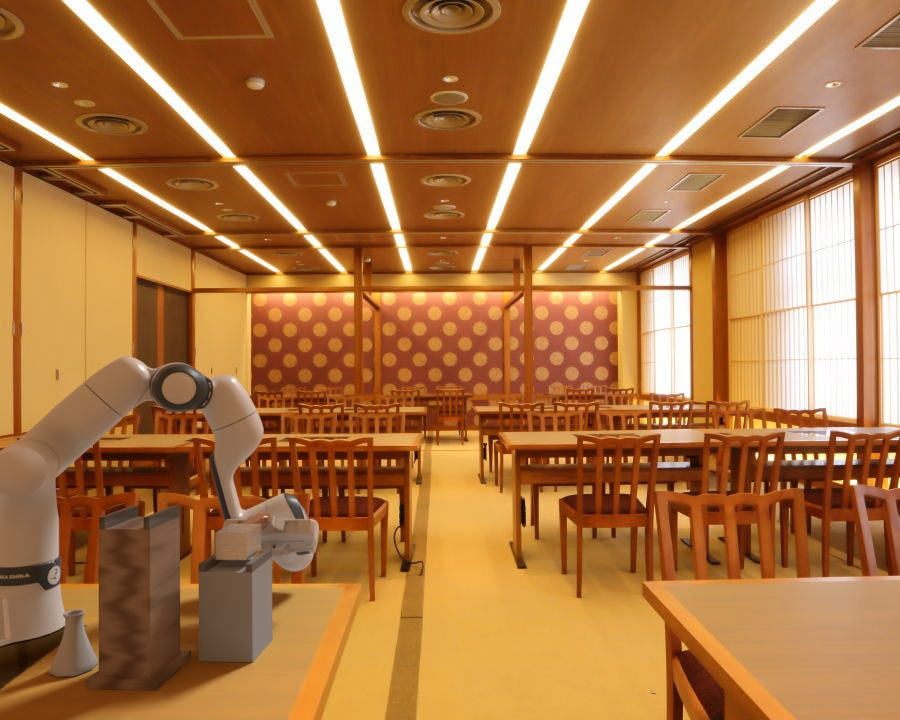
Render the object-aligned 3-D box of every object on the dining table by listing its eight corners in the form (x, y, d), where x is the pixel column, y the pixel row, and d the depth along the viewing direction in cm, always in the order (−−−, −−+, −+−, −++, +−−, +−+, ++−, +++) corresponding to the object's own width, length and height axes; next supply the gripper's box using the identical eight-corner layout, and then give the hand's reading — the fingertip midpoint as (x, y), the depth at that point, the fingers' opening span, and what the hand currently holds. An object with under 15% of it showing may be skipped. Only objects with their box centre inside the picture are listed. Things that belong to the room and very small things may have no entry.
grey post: (199, 661, 117) (198, 563, 117) (222, 638, 127) (222, 549, 127) (252, 662, 116) (251, 564, 117) (272, 639, 126) (271, 549, 127)
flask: (75, 680, 110) (75, 621, 111) (40, 676, 112) (40, 618, 112) (106, 661, 117) (106, 606, 118) (72, 658, 119) (72, 604, 119)
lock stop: (215, 559, 120) (215, 532, 120) (251, 536, 137) (251, 513, 137) (247, 559, 119) (246, 532, 119) (278, 536, 136) (278, 513, 136)
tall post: (86, 688, 107) (86, 518, 108) (128, 657, 119) (127, 504, 120) (155, 690, 106) (155, 518, 107) (191, 658, 118) (190, 504, 119)
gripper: (238, 525, 148) (214, 505, 136) (325, 525, 146) (309, 504, 135) (232, 552, 145) (208, 534, 133) (322, 553, 143) (305, 535, 131)
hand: (259, 519), depth 134 cm, fingers closed on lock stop, 2 cm apart
